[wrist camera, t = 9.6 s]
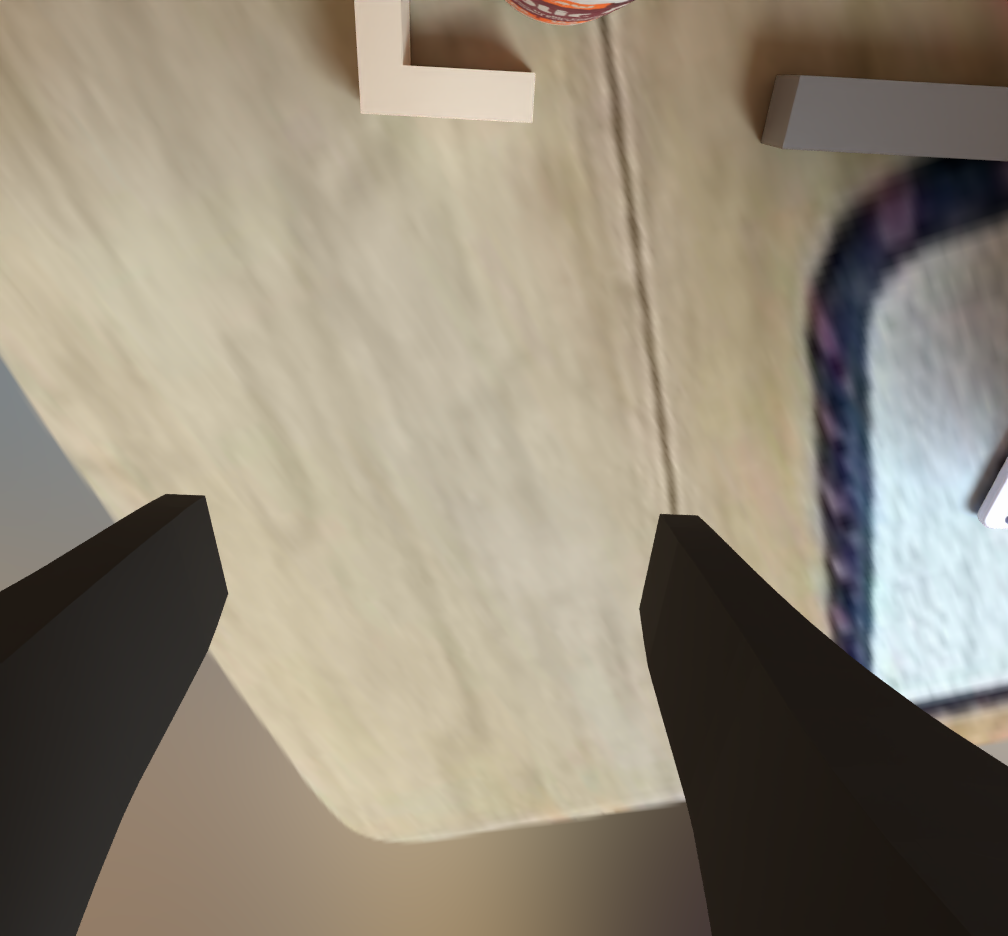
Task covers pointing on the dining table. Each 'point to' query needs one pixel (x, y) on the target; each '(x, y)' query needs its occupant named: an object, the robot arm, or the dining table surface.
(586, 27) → the dining table surface
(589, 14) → the pill bottle
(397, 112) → the bracket
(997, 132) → the gray u-shaped bracket
